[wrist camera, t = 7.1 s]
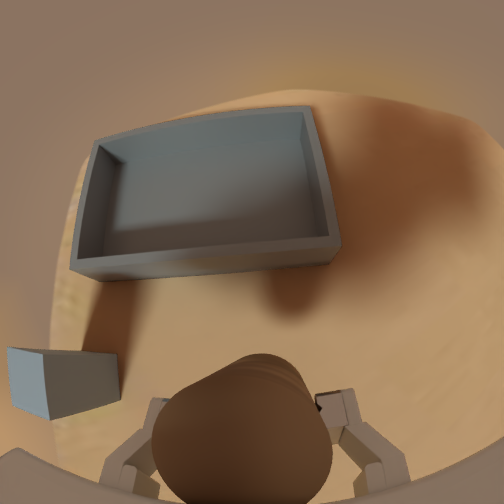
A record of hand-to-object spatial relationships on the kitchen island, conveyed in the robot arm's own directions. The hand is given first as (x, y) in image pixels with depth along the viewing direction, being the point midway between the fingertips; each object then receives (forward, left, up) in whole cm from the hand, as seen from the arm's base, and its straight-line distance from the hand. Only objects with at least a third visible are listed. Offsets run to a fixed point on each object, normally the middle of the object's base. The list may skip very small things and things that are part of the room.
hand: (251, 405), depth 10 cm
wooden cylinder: (0, +1, -5) cm, 5 cm away
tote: (+5, -15, -12) cm, 20 cm away
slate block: (+16, +1, -12) cm, 20 cm away
